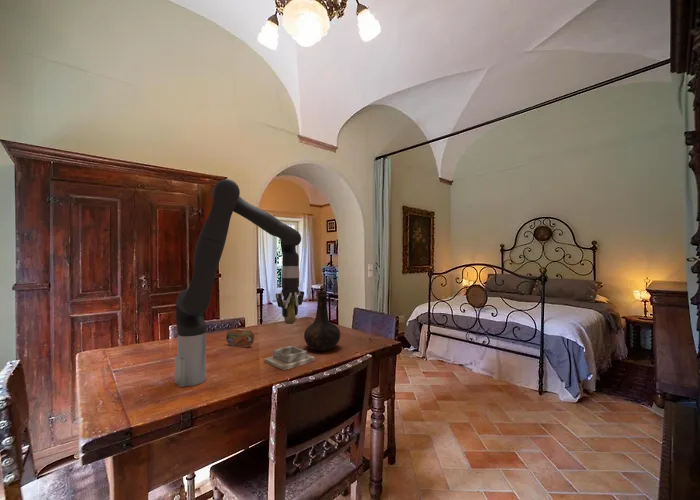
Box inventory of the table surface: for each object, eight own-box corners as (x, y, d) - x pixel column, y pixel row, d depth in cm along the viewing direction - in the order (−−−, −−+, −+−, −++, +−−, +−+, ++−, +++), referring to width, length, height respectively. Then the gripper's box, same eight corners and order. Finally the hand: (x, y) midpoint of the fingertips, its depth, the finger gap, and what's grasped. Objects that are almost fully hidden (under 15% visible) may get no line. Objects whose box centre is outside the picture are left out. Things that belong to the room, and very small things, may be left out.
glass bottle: (323, 356, 138) (324, 294, 138) (296, 349, 148) (296, 291, 149) (347, 347, 152) (348, 291, 152) (321, 341, 163) (321, 288, 163)
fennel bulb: (283, 322, 134) (283, 294, 134) (294, 321, 135) (294, 294, 136) (285, 325, 128) (285, 296, 128) (297, 324, 130) (297, 296, 130)
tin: (225, 345, 154) (225, 328, 154) (229, 343, 157) (230, 327, 157) (251, 348, 149) (251, 331, 149) (255, 346, 152) (255, 329, 152)
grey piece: (283, 370, 121) (283, 359, 121) (264, 362, 130) (264, 351, 130) (314, 360, 132) (315, 350, 132) (295, 353, 142) (295, 343, 142)
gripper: (281, 277, 124) (281, 320, 124) (308, 276, 135) (308, 315, 135) (271, 276, 129) (270, 317, 129) (298, 275, 140) (298, 312, 140)
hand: (290, 315), depth 132 cm, fingers closed on fennel bulb, 4 cm apart
